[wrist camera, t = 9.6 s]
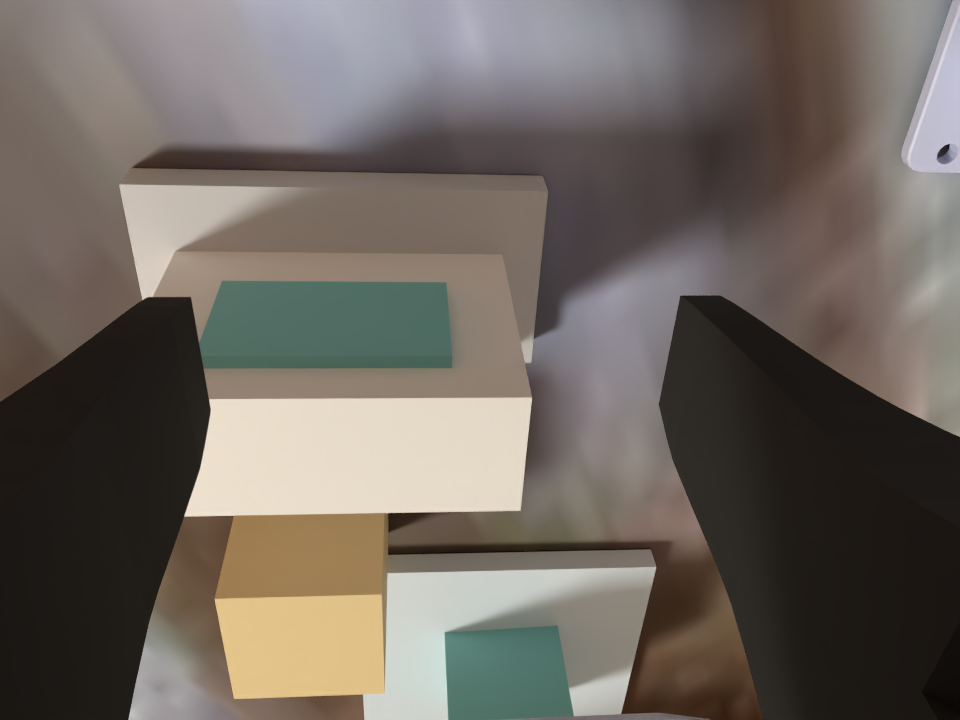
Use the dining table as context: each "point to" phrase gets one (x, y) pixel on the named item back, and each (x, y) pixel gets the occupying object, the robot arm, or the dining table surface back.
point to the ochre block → (305, 604)
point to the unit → (351, 332)
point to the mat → (513, 620)
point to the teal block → (506, 674)
